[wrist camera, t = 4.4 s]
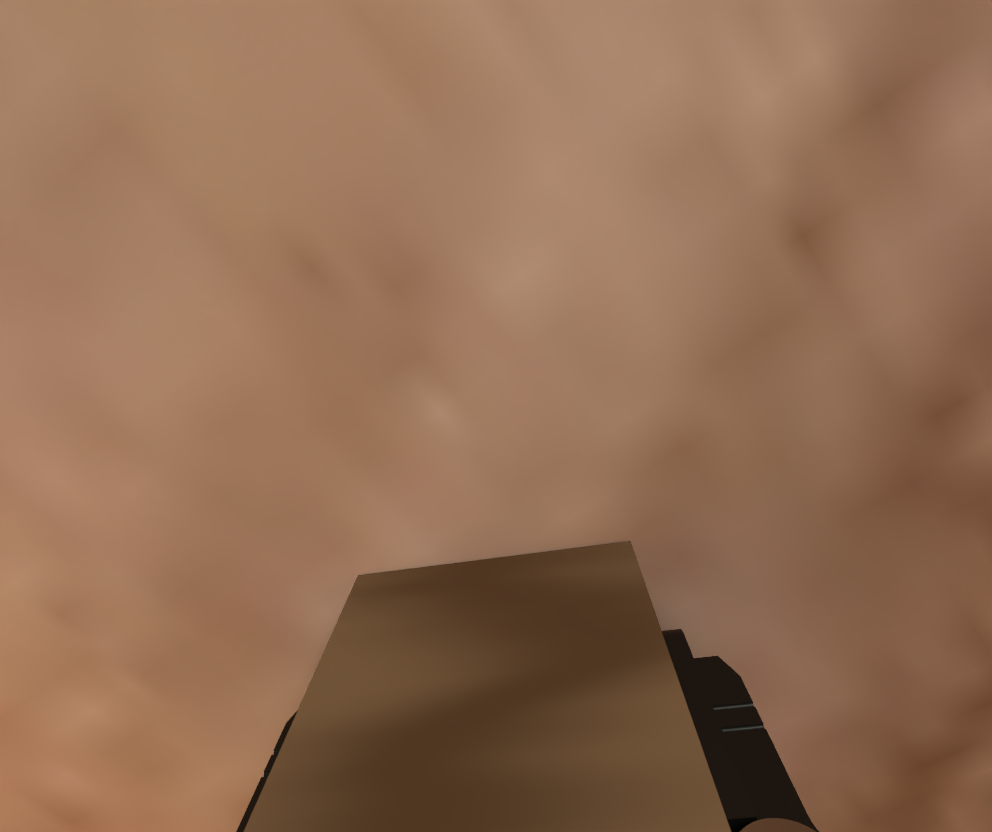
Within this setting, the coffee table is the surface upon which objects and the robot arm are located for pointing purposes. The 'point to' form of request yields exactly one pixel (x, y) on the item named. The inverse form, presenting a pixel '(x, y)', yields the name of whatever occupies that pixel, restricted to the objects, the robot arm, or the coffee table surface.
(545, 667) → the walnut block
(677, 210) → the coffee table surface
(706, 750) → the robot arm
